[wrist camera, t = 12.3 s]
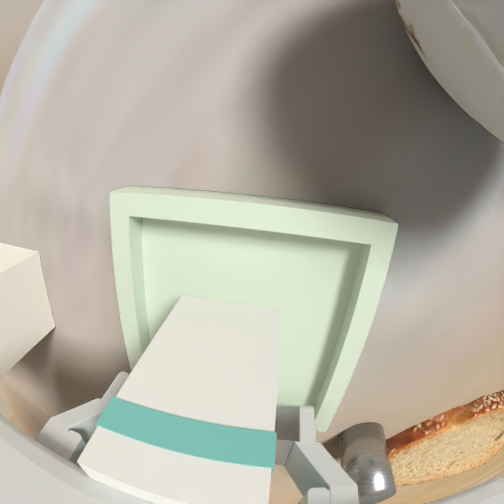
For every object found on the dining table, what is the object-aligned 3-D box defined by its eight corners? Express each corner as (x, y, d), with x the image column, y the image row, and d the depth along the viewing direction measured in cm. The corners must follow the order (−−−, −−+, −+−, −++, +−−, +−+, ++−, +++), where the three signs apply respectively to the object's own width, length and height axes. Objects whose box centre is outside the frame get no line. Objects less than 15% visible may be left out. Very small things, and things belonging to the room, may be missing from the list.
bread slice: (335, 462, 20) (337, 494, 16) (506, 339, 14) (530, 368, 10) (413, 486, 22) (417, 507, 19) (527, 404, 16) (539, 424, 13)
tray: (324, 408, 16) (326, 431, 15) (149, 381, 17) (138, 400, 15) (383, 213, 12) (398, 223, 10) (131, 185, 13) (109, 192, 11)
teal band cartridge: (267, 394, 13) (248, 545, 5) (185, 380, 13) (130, 518, 5) (282, 308, 11) (269, 515, 3) (180, 294, 11) (74, 459, 4)
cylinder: (372, 445, 18) (382, 503, 12) (332, 447, 18) (336, 508, 12) (390, 421, 17) (405, 484, 11) (346, 422, 17) (355, 492, 11)
